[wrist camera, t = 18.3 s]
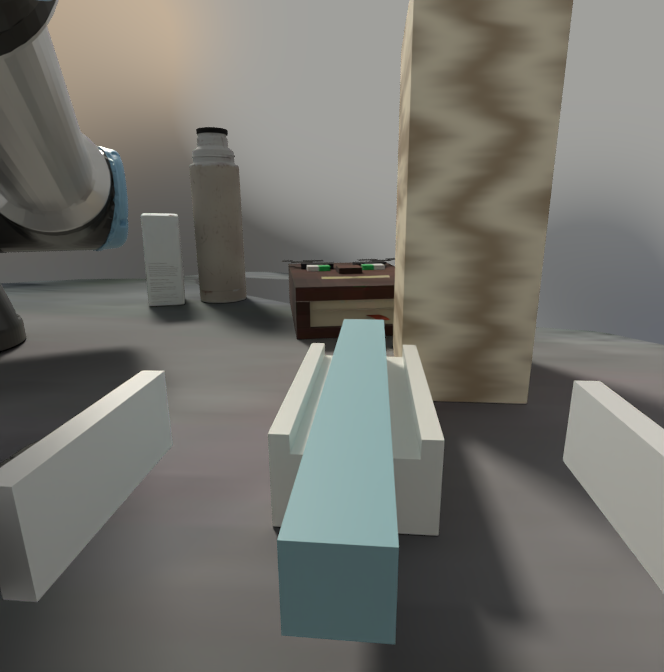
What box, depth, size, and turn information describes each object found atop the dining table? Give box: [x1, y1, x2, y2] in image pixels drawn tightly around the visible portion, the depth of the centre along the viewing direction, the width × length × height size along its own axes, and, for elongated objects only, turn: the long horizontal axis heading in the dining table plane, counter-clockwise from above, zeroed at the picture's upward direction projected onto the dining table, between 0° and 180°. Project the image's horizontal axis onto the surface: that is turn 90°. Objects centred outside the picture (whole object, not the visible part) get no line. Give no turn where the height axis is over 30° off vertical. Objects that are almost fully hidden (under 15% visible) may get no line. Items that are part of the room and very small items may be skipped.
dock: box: [268, 343, 445, 536], centre depth 28 cm, size 8×15×5 cm, turn 175°
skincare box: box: [141, 213, 185, 306], centre depth 77 cm, size 8×6×15 cm
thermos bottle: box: [189, 127, 246, 303], centre depth 77 cm, size 8×8×28 cm
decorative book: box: [283, 258, 395, 339], centre depth 67 cm, size 19×8×30 cm
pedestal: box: [393, 0, 573, 404], centre depth 40 cm, size 10×16×31 cm, turn 175°
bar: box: [277, 319, 399, 644], centre depth 23 cm, size 3×24×3 cm, turn 175°
